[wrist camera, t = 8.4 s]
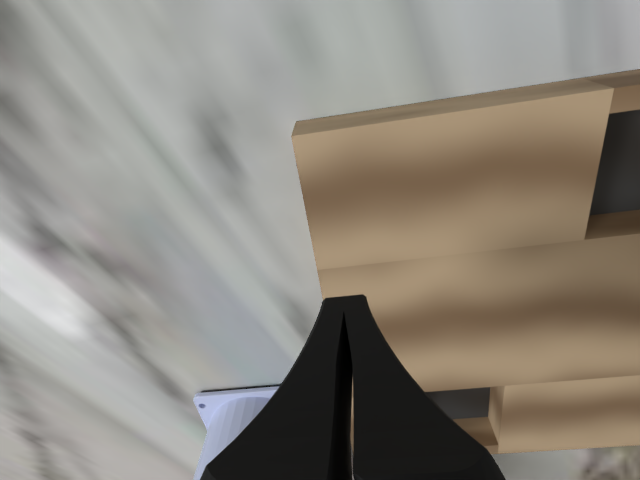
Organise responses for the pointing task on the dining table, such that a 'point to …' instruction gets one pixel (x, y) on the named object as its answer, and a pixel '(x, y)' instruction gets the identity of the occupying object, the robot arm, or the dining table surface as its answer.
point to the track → (494, 252)
